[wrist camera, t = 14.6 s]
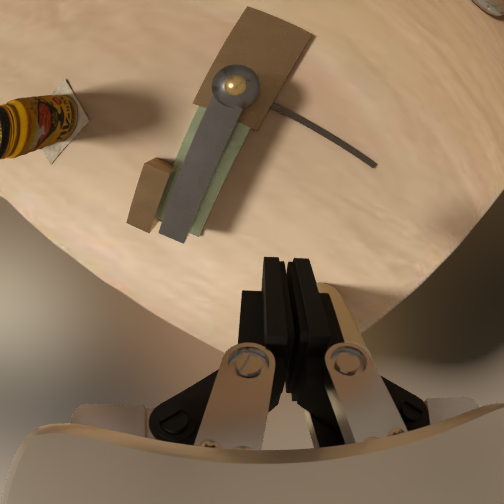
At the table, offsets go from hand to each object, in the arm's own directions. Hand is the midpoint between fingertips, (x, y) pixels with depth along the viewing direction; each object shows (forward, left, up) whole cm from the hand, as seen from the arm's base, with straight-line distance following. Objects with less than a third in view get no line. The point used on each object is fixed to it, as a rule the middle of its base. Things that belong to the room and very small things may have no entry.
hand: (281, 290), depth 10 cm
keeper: (+8, +3, -19) cm, 21 cm away
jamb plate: (0, -10, -19) cm, 21 cm away
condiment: (+26, +3, -19) cm, 33 cm away
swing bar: (+6, 0, -18) cm, 19 cm away
